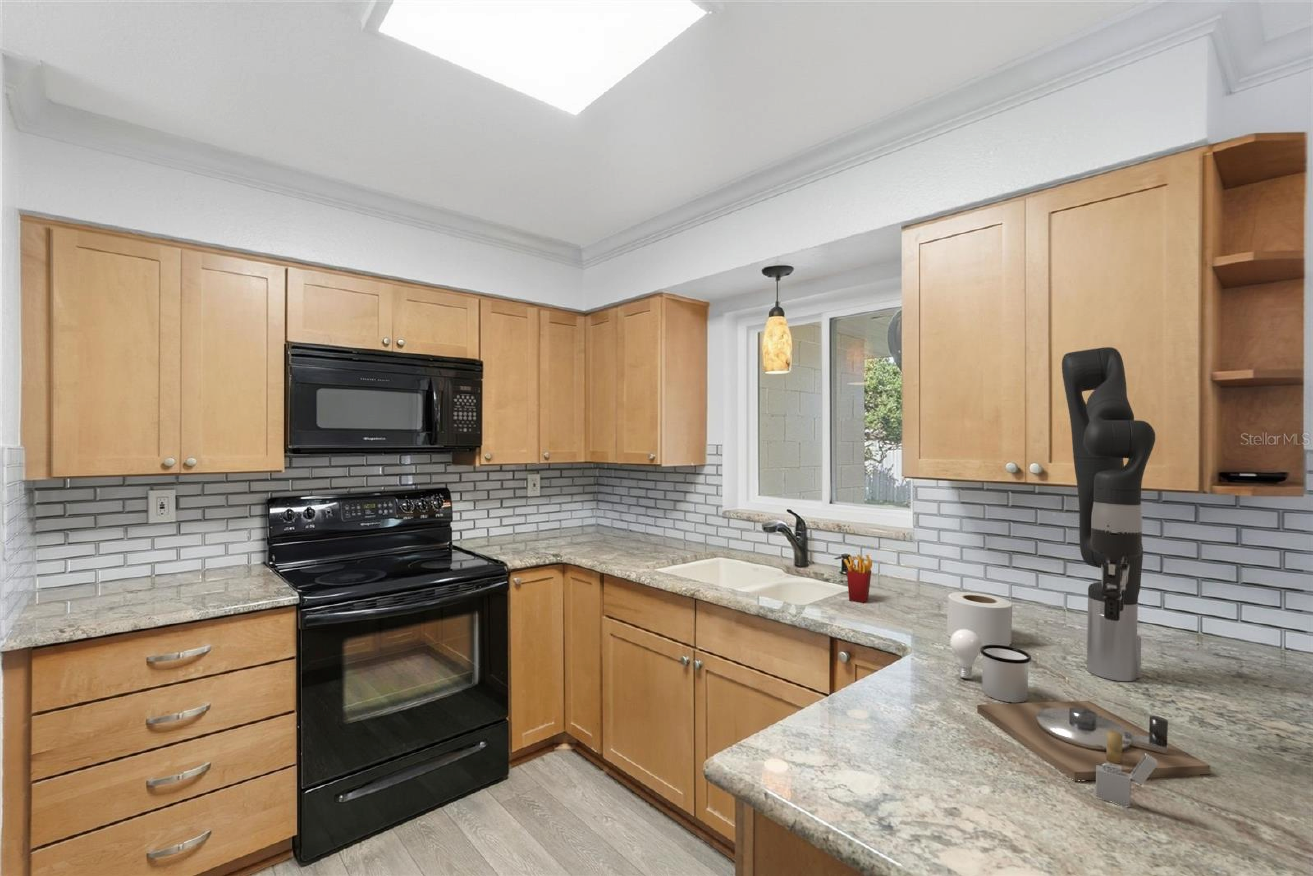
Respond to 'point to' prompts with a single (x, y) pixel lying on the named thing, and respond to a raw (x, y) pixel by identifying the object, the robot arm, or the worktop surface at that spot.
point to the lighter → (1121, 780)
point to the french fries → (859, 578)
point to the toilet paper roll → (980, 617)
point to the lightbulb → (965, 650)
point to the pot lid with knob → (1099, 729)
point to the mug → (1005, 673)
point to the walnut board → (1081, 760)
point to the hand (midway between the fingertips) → (1114, 615)
